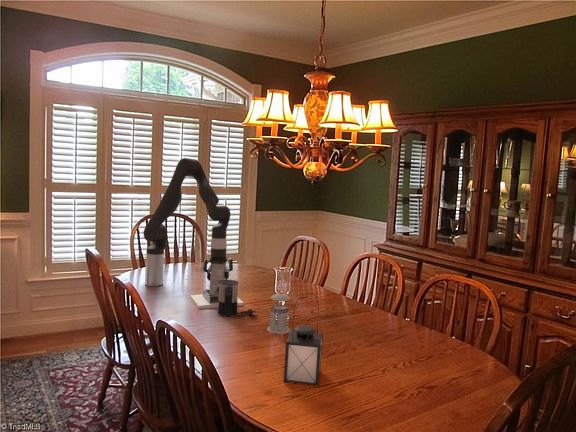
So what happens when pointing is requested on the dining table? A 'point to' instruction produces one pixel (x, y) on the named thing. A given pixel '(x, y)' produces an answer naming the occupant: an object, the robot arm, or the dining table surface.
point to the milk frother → (229, 298)
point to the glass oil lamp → (279, 314)
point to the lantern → (303, 354)
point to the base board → (203, 303)
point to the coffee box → (216, 276)
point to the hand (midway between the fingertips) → (217, 279)
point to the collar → (208, 297)
